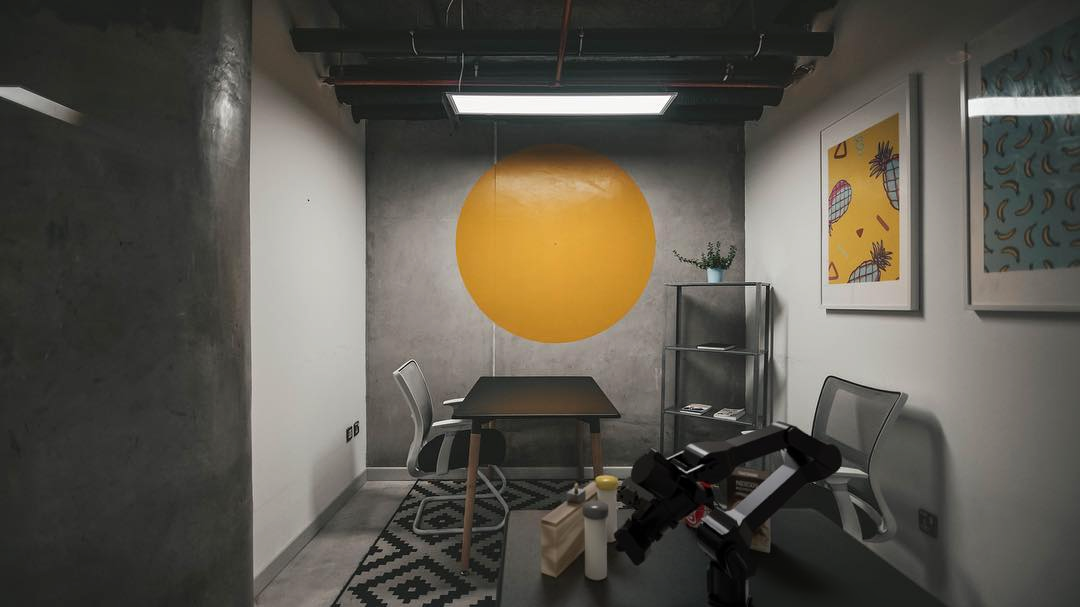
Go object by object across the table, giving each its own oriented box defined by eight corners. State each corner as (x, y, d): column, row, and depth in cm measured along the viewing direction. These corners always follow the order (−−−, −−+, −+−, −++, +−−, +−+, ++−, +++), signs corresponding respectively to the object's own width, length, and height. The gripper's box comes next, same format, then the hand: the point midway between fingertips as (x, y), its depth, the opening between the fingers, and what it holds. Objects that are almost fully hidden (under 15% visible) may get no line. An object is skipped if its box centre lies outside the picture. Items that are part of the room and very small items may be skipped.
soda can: (715, 532, 109) (714, 482, 109) (684, 529, 110) (684, 480, 110) (710, 519, 116) (709, 471, 116) (681, 516, 117) (681, 470, 117)
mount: (606, 528, 111) (605, 484, 111) (556, 577, 91) (555, 523, 91) (593, 525, 113) (592, 481, 113) (541, 572, 93) (541, 519, 93)
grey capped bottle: (613, 571, 92) (612, 504, 92) (602, 584, 88) (601, 514, 88) (590, 563, 95) (589, 498, 95) (578, 575, 90) (577, 508, 91)
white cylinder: (622, 535, 106) (621, 478, 107) (613, 545, 102) (612, 485, 102) (601, 530, 109) (601, 473, 109) (592, 539, 105) (591, 480, 105)
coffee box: (725, 544, 103) (724, 473, 103) (728, 532, 109) (727, 464, 109) (770, 554, 99) (769, 480, 99) (771, 540, 105) (770, 470, 105)
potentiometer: (585, 498, 103) (585, 482, 103) (578, 504, 100) (578, 488, 100) (574, 496, 104) (574, 480, 104) (567, 501, 101) (566, 485, 101)
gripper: (657, 454, 94) (608, 496, 100) (624, 484, 78) (568, 532, 84) (697, 501, 90) (643, 542, 95) (670, 542, 74) (608, 588, 80)
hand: (617, 548), depth 89 cm, fingers closed
